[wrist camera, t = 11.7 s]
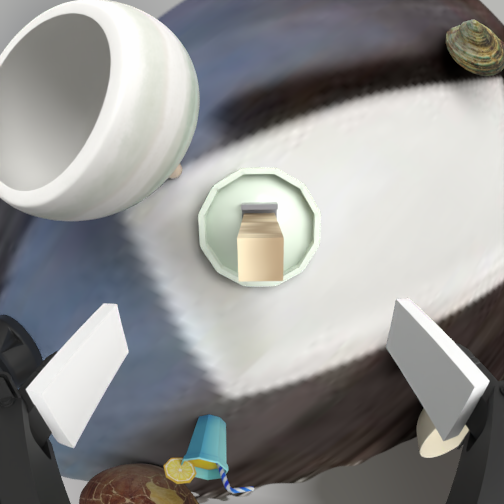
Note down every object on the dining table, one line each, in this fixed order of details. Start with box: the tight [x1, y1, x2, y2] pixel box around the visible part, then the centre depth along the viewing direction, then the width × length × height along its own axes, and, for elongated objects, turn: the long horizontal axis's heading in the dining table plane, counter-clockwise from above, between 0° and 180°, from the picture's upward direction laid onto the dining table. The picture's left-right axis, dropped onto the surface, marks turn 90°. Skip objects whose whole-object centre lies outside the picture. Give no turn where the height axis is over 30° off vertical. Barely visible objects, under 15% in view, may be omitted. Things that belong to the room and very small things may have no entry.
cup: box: [164, 414, 254, 493], centre depth 38 cm, size 14×8×15 cm, turn 94°
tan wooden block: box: [237, 213, 284, 282], centre depth 28 cm, size 4×4×12 cm
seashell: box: [446, 20, 504, 76], centre depth 22 cm, size 11×11×10 cm
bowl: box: [417, 408, 469, 458], centre depth 39 cm, size 16×16×10 cm
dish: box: [198, 167, 321, 287], centre depth 34 cm, size 14×14×3 cm
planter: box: [0, 0, 199, 221], centre depth 21 cm, size 16×16×22 cm
